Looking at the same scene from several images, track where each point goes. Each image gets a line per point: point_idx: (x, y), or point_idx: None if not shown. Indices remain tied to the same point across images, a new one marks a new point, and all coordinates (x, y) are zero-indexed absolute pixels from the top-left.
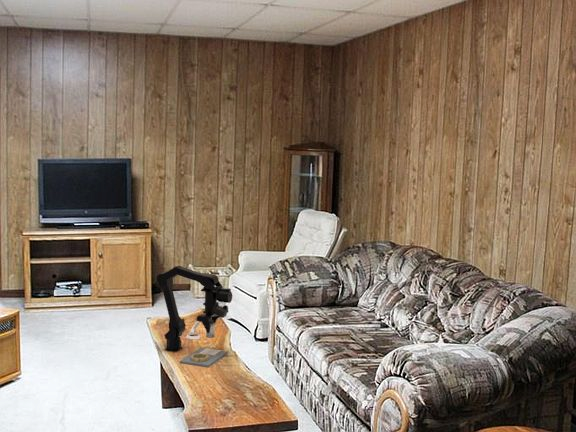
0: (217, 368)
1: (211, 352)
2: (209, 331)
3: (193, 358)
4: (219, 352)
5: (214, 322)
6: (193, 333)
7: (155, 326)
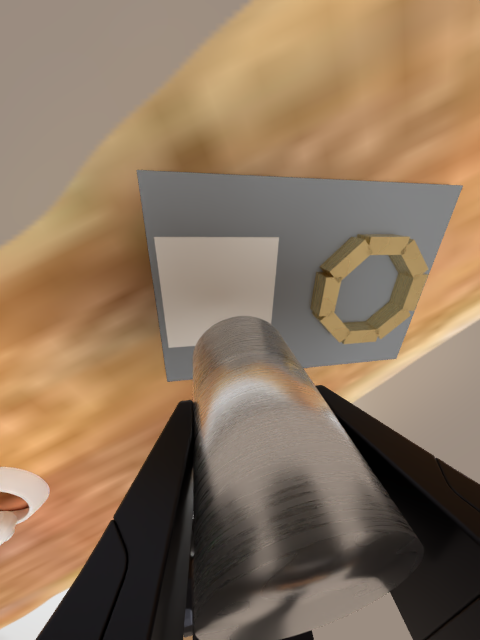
0: (470, 110)
1: (233, 279)
2: (334, 396)
3: (414, 307)
4: (195, 230)
5: (164, 581)
6: (4, 516)
7: (9, 616)
